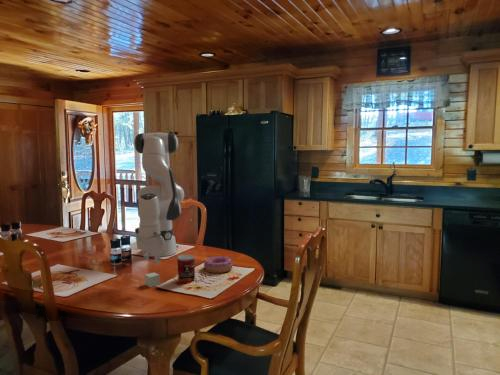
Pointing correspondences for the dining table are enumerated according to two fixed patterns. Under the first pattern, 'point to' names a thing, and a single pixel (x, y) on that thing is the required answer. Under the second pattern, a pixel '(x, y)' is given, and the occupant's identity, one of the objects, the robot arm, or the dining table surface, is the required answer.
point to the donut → (218, 264)
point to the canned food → (186, 268)
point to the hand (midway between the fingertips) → (151, 261)
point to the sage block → (152, 279)
